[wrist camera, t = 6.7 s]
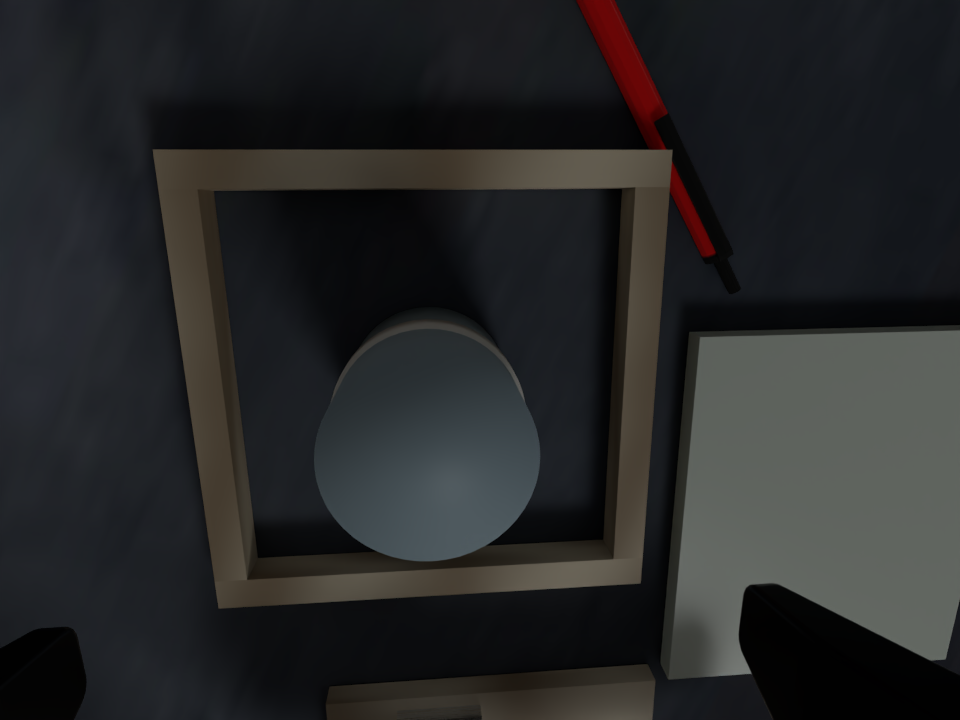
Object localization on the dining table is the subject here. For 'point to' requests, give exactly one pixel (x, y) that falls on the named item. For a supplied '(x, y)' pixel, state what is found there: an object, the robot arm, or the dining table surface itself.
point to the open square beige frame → (215, 390)
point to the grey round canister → (427, 439)
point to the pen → (659, 132)
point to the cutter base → (504, 697)
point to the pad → (816, 485)
